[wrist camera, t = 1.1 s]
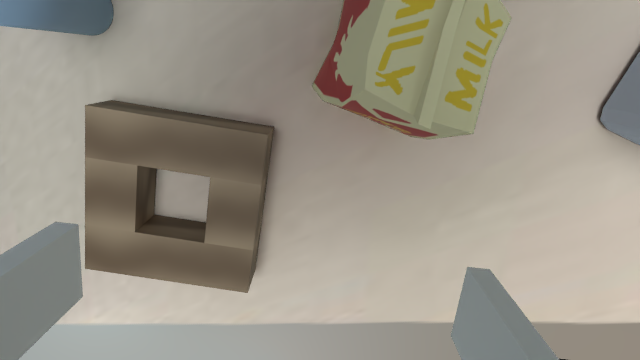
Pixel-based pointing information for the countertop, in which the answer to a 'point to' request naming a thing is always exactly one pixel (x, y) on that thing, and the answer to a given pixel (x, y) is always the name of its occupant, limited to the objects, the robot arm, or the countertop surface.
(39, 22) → the peg
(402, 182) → the countertop surface
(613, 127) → the soap bottle
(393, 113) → the milk carton
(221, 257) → the socket block
